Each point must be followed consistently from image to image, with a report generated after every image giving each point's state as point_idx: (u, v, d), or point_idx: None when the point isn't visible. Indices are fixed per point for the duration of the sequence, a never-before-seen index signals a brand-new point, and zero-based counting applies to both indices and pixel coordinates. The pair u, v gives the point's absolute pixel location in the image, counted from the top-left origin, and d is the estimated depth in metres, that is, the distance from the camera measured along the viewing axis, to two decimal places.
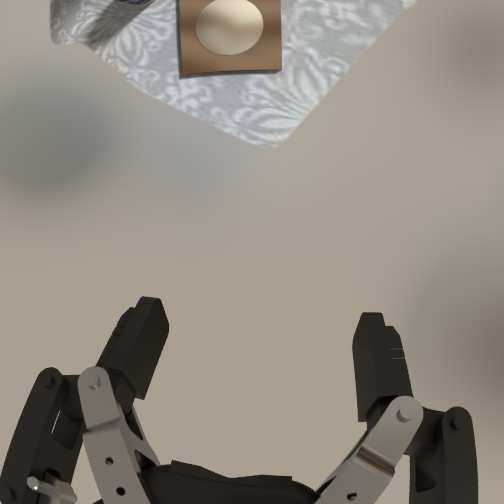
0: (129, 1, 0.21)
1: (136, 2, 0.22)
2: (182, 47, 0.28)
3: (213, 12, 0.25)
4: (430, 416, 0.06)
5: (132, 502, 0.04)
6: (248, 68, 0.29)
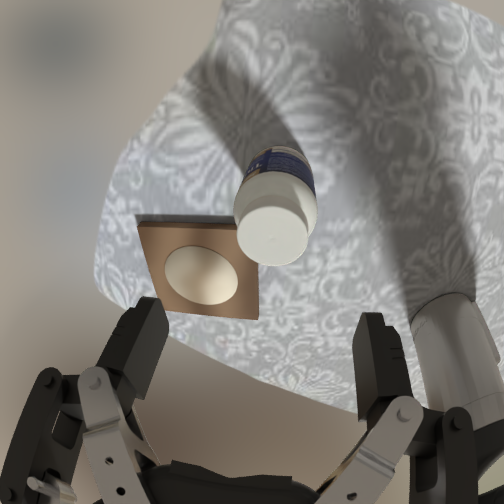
0: None
1: None
2: (169, 228, 0.27)
3: (217, 264, 0.29)
4: (430, 416, 0.06)
5: (132, 502, 0.04)
6: (155, 287, 0.32)
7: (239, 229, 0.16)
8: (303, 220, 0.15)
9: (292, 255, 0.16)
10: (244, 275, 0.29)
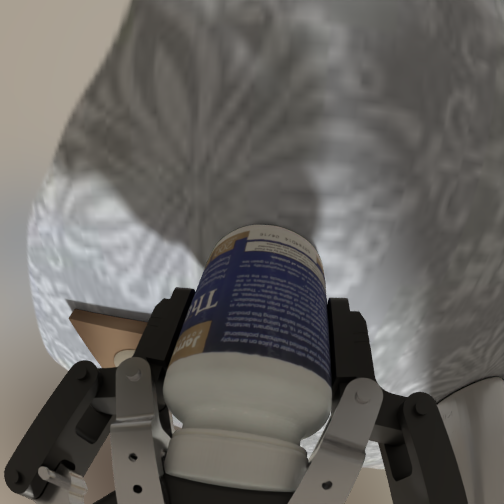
0: None
1: None
2: (107, 328, 0.17)
3: None
4: (393, 401, 0.07)
5: (146, 502, 0.04)
6: None
7: None
8: (297, 483, 0.05)
9: None
10: None
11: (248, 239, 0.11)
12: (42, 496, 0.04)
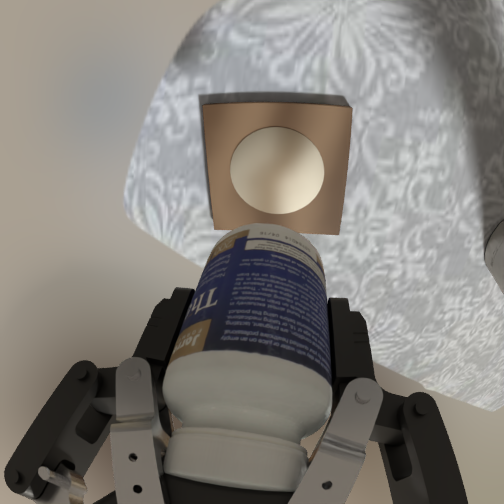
0: None
1: None
2: (247, 105, 0.21)
3: (301, 152, 0.23)
4: (393, 401, 0.07)
5: (146, 502, 0.04)
6: (212, 193, 0.26)
7: None
8: (297, 483, 0.05)
9: None
10: (332, 167, 0.23)
11: (248, 238, 0.11)
12: (42, 496, 0.04)
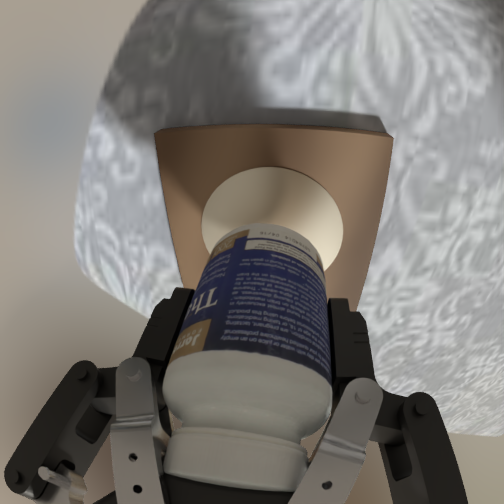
0: None
1: None
2: (222, 131, 0.13)
3: (310, 207, 0.15)
4: (393, 401, 0.07)
5: (146, 502, 0.04)
6: (179, 259, 0.18)
7: None
8: (297, 483, 0.05)
9: None
10: (356, 228, 0.15)
11: (248, 237, 0.11)
12: (42, 496, 0.04)
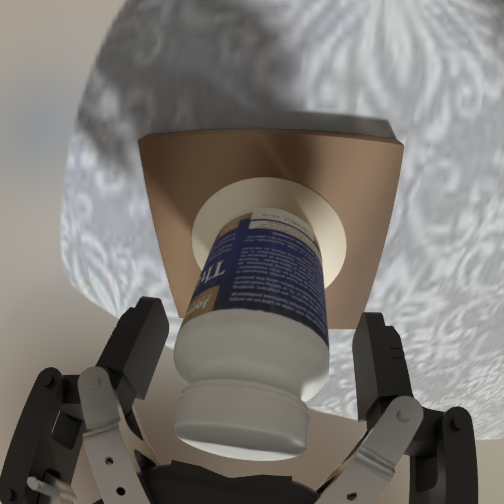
0: None
1: None
2: (212, 137, 0.12)
3: (310, 221, 0.14)
4: (430, 416, 0.06)
5: (132, 502, 0.04)
6: (169, 275, 0.17)
7: (176, 432, 0.07)
8: (299, 433, 0.06)
9: (276, 457, 0.08)
10: (361, 244, 0.14)
11: (251, 219, 0.12)
12: None
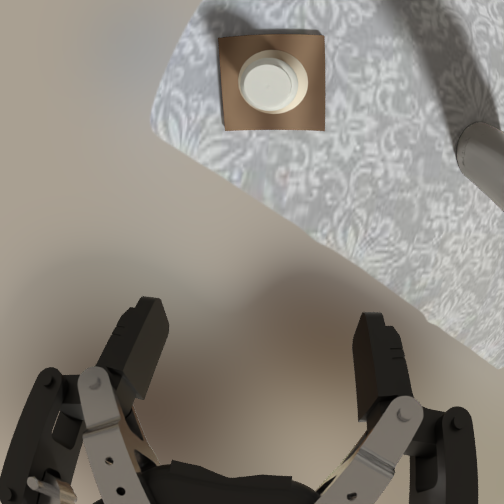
0: None
1: None
2: (250, 36, 0.26)
3: (290, 66, 0.28)
4: (430, 416, 0.06)
5: (132, 502, 0.04)
6: (224, 101, 0.31)
7: (245, 81, 0.21)
8: (286, 73, 0.20)
9: (281, 97, 0.21)
10: (314, 76, 0.28)
11: None
12: None
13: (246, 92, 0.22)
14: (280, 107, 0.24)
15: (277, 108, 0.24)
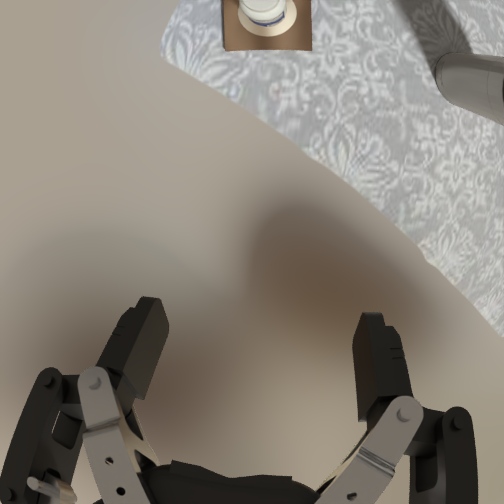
0: None
1: None
2: None
3: None
4: (430, 416, 0.06)
5: (132, 502, 0.04)
6: (225, 27, 0.31)
7: None
8: None
9: (271, 3, 0.21)
10: (301, 8, 0.28)
11: None
12: None
13: (243, 0, 0.21)
14: (271, 16, 0.24)
15: (268, 17, 0.24)
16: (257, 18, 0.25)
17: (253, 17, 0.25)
